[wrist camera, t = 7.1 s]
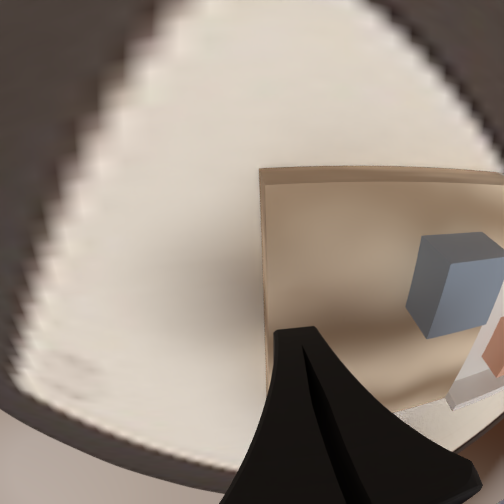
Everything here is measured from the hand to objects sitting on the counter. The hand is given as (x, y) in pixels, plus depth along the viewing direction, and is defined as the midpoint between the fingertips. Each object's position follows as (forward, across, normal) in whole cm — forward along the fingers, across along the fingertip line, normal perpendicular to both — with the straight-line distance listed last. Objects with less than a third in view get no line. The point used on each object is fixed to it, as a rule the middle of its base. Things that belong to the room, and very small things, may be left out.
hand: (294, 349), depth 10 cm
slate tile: (+4, -8, 0) cm, 9 cm away
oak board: (+6, -6, +4) cm, 10 cm away
